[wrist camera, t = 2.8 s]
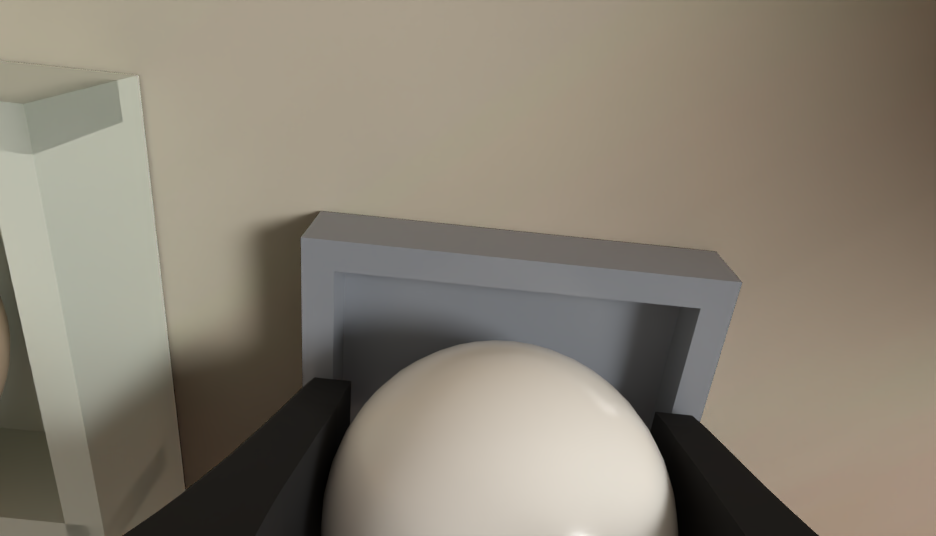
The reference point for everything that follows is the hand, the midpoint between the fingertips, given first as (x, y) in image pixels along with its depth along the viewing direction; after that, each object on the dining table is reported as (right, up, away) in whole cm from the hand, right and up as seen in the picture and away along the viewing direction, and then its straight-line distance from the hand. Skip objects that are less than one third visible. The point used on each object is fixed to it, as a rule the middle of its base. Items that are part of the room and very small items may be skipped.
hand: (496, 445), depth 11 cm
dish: (0, +1, +1) cm, 1 cm away
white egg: (0, 0, +1) cm, 1 cm away
